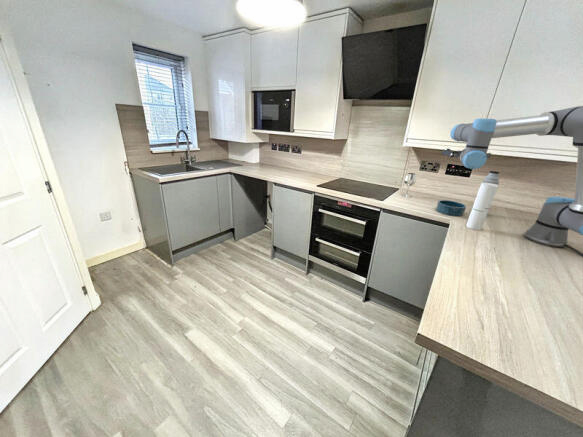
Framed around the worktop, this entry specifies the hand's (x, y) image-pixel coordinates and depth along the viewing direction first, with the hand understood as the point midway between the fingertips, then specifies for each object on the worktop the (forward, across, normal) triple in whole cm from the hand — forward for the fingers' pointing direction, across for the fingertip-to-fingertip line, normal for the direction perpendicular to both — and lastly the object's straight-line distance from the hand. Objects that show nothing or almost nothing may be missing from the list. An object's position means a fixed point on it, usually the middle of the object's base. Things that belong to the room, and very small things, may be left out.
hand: (463, 152), depth 124 cm
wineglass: (+48, -22, -40) cm, 66 cm away
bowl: (+22, +5, -40) cm, 46 cm away
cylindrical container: (+1, +16, -40) cm, 43 cm away
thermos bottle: (+32, +23, -40) cm, 56 cm away
